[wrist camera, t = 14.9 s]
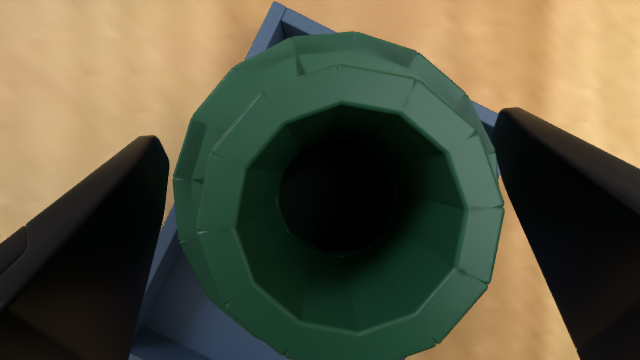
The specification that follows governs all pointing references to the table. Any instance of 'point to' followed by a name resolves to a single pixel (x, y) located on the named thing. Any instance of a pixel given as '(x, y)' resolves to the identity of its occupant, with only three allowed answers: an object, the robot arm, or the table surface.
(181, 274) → the tray
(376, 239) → the bottle
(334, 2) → the table surface
